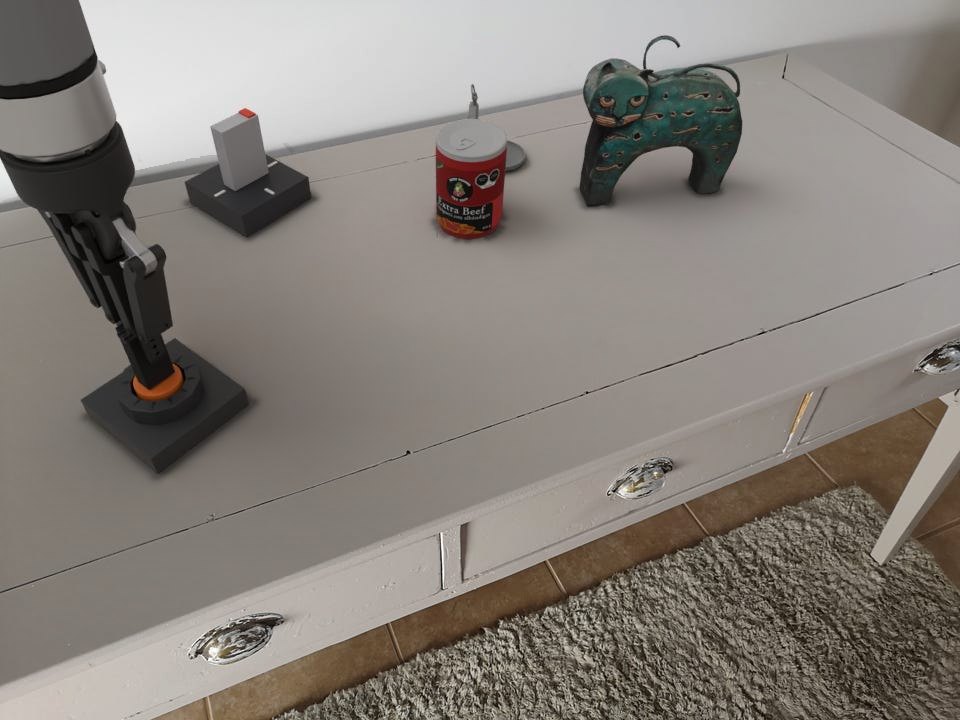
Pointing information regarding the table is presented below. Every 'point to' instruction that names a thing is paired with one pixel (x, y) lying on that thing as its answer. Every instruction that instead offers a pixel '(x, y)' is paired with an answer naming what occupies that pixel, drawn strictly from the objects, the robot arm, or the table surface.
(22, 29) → the robot arm
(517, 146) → the pocket watch
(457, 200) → the canned food
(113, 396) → the dark square piece
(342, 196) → the table surface
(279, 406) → the table surface
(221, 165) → the dial
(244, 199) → the dial panel
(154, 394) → the power button
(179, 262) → the table surface
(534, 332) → the table surface
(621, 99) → the ceramic cat
